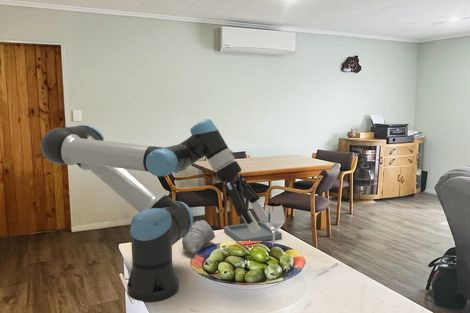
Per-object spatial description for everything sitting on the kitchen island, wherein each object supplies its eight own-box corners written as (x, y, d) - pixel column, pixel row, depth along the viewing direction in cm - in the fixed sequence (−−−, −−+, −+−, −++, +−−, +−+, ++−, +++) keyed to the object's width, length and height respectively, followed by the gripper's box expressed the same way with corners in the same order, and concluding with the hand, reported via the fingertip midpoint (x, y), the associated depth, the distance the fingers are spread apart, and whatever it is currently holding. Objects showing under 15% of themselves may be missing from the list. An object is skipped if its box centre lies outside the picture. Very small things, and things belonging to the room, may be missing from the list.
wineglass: (267, 245, 153) (267, 200, 151) (287, 249, 150) (288, 203, 147) (259, 253, 146) (259, 205, 144) (280, 256, 143) (280, 208, 140)
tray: (242, 245, 154) (242, 239, 153) (224, 232, 170) (224, 226, 170) (281, 239, 161) (281, 233, 161) (260, 226, 177) (260, 221, 177)
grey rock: (192, 259, 140) (191, 232, 139) (170, 248, 151) (169, 223, 150) (226, 248, 151) (226, 223, 150) (203, 238, 162) (203, 215, 161)
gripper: (224, 165, 108) (264, 232, 107) (244, 155, 132) (277, 210, 131) (202, 178, 110) (241, 244, 109) (226, 166, 134) (258, 220, 133)
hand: (261, 225), depth 120 cm, fingers open, 13 cm apart
